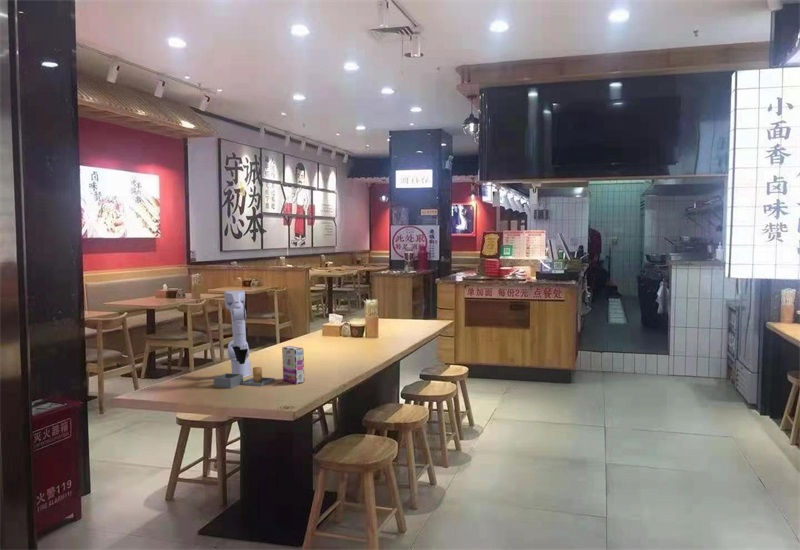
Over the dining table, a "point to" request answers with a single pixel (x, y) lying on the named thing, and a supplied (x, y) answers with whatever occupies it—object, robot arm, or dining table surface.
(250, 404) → the dining table surface
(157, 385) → the dining table surface
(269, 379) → the tray
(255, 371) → the dowel
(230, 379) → the grey square box
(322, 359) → the dining table surface
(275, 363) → the dining table surface
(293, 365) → the candy bar box
